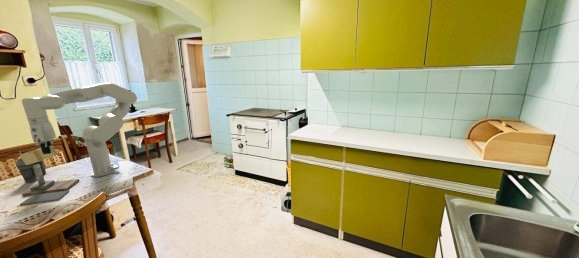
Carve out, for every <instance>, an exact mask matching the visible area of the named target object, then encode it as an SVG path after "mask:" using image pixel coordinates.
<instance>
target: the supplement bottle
mask: <svg viewBox="0 0 579 258" xmlns="http://www.w3.org/2000/svg"><path fill="white" fill-rule="evenodd" d="M36 164H39V165H40V168H41V171H42V174H43V176H45V175H46V174H47V171H46V167H45V163H44V161H43V160H41V161H39V162H36V163H34V165H36Z"/></svg>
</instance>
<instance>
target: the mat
mask: <svg viewBox="0 0 579 258" xmlns="http://www.w3.org/2000/svg"><path fill="white" fill-rule="evenodd" d="M69 192H70V190H67V191H60V192H53V193H45V194H38V195H30V197H28V198H27V199H25V200H23V201H22V202H21V203H19V206H27V205H34V204H42V203H50V202H55V201H60V200H61V199H62V198H63V197H64V196H66V195H68V194H69Z"/></svg>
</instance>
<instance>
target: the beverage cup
mask: <svg viewBox="0 0 579 258" xmlns="http://www.w3.org/2000/svg"><path fill="white" fill-rule="evenodd" d="M20 155H22V152H21V150H19V156H20ZM15 165H16V167H17V169H18V170H19V173H20V175H21V176H22V178H23V180H24V182H25V183H26V184H32V183H35V182H36V181H37V177H36V174H35V171H34V168H33V165H34V163H32V164H29V165H26V164H25V163H24V161H23V160H22V158H21V157H20V158H19V159H18V160H17V161H16V163H15Z"/></svg>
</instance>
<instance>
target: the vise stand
mask: <svg viewBox="0 0 579 258" xmlns="http://www.w3.org/2000/svg"><path fill="white" fill-rule="evenodd" d="M33 168H34V171H35V174H36V181H37V183H35V184H33V185H32V186H31V187H30V188H29V189H28V190H26V191H24V192H22V193H21V196H22V197H27V196H28V197H29V196H30V197H31V196H33V195H38V194H46V193H54V192H61V191H70V189H71V188H73V187H74V186H76V185H77V184H78V183H79V182H80V178H74V179H67V180H58V181H55V180H52V179H51V180H45V177H44V175H43V174H42V171H41V168H40V165H39V164H36V165H33Z"/></svg>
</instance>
